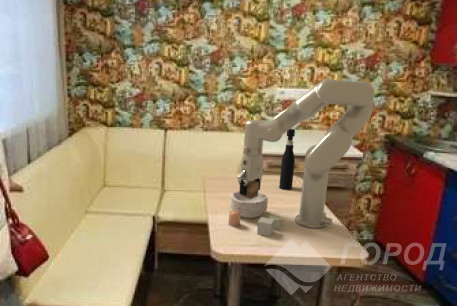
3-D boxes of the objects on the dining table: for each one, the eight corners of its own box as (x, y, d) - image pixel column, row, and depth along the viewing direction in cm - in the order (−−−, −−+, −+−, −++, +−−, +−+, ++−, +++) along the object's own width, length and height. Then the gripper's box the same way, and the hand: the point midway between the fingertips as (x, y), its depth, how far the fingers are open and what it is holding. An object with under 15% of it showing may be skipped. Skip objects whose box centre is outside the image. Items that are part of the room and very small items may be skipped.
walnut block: (257, 196, 173) (258, 182, 172) (250, 198, 169) (252, 184, 168) (247, 193, 176) (248, 179, 175) (240, 195, 172) (241, 181, 171)
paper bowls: (246, 224, 164) (248, 204, 162) (222, 211, 175) (223, 193, 173) (274, 216, 174) (275, 198, 172) (249, 205, 185) (250, 188, 183)
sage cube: (278, 225, 164) (279, 216, 163) (279, 229, 161) (280, 220, 160) (268, 224, 165) (269, 215, 164) (269, 229, 161) (269, 219, 160)
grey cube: (273, 231, 158) (274, 219, 157) (270, 236, 154) (271, 224, 153) (260, 229, 160) (261, 217, 159) (257, 234, 155) (258, 221, 154)
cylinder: (242, 224, 163) (243, 212, 162) (235, 227, 160) (236, 215, 159) (233, 221, 166) (233, 209, 165) (226, 224, 162) (227, 212, 161)
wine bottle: (292, 190, 209) (298, 130, 202) (279, 189, 209) (285, 130, 202) (291, 186, 215) (296, 128, 208) (278, 185, 215) (283, 127, 208)
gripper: (248, 156, 159) (245, 199, 163) (272, 149, 173) (268, 189, 177) (232, 152, 164) (229, 194, 168) (257, 146, 177) (254, 185, 181)
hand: (249, 191), depth 172 cm, fingers open, 9 cm apart
